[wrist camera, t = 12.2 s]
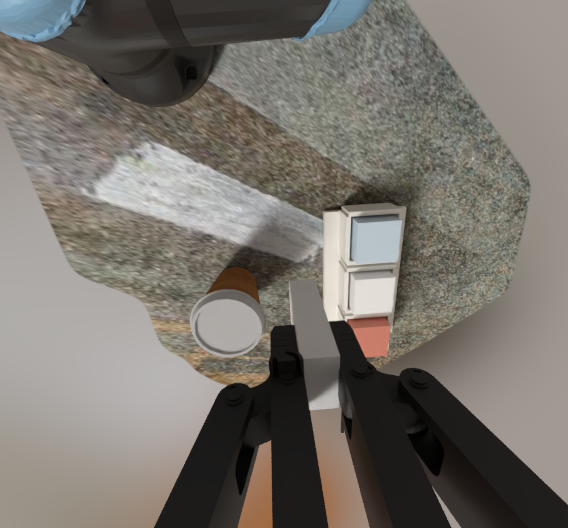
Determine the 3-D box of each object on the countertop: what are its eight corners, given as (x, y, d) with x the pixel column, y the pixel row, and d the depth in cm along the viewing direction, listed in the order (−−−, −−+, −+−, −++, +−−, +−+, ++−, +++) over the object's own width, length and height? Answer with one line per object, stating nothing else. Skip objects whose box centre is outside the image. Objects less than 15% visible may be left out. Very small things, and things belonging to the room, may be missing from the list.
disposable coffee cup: (267, 258, 44) (267, 296, 33) (264, 310, 48) (264, 360, 37) (205, 255, 44) (184, 294, 33) (207, 308, 47) (189, 359, 36)
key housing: (323, 205, 42) (329, 213, 37) (404, 200, 42) (421, 207, 37) (323, 337, 51) (328, 356, 46) (389, 331, 51) (401, 350, 47)
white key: (347, 268, 43) (355, 280, 39) (384, 265, 43) (395, 277, 39) (346, 300, 45) (353, 314, 41) (381, 297, 45) (391, 311, 41)
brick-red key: (346, 313, 46) (352, 328, 42) (380, 310, 46) (390, 325, 42) (345, 341, 48) (351, 358, 44) (377, 339, 48) (386, 355, 45)
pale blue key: (349, 215, 39) (358, 223, 36) (389, 212, 40) (402, 220, 36) (348, 253, 42) (356, 264, 38) (386, 250, 42) (397, 261, 38)
